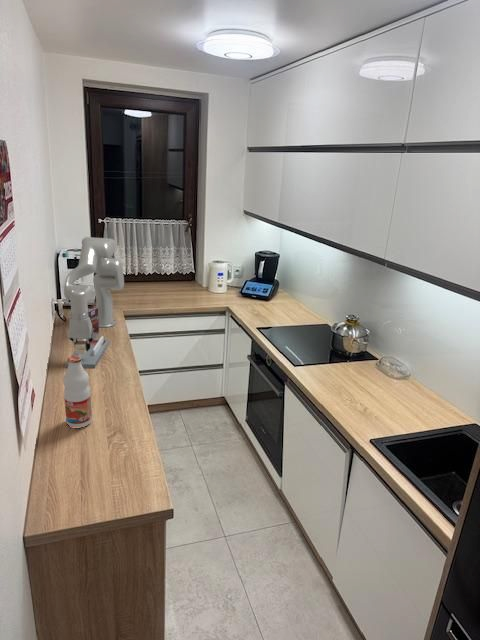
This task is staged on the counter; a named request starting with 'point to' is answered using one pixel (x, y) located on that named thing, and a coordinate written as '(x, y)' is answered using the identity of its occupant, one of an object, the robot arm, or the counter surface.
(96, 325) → the supplement box
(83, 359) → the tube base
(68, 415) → the fruit juice
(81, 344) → the maple block
